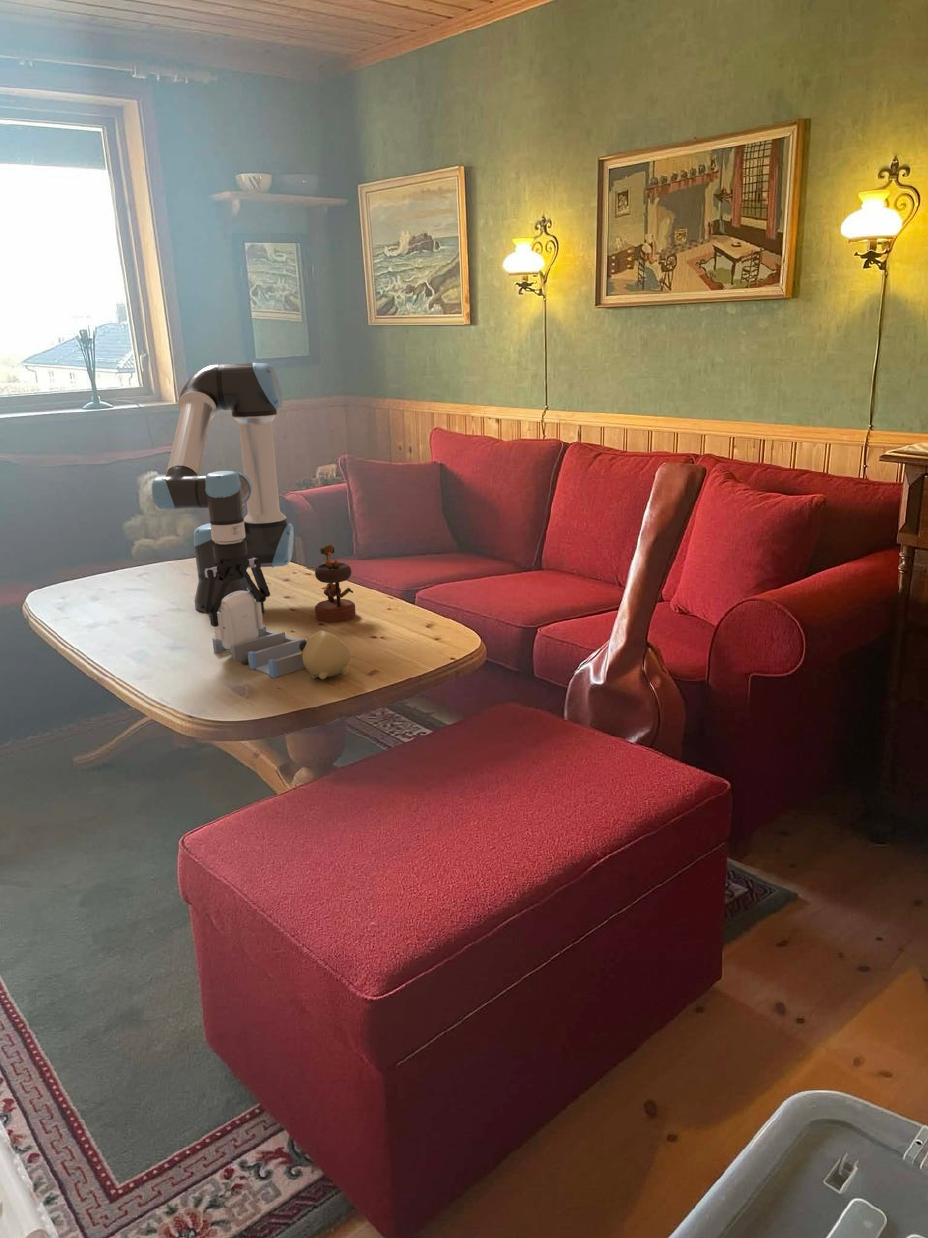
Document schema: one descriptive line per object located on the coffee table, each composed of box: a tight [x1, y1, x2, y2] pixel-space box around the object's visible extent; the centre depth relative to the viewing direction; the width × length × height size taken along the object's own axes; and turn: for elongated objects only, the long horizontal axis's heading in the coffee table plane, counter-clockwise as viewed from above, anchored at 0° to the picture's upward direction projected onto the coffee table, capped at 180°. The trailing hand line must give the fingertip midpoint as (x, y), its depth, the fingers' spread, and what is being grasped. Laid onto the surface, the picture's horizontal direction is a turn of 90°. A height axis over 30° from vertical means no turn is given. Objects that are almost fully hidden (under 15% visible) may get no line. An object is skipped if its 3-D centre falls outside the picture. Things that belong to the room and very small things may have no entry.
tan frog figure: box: [299, 630, 351, 680], centre depth 200 cm, size 10×12×11 cm
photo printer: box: [218, 590, 258, 649], centre depth 218 cm, size 10×4×12 cm, turn 155°
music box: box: [314, 543, 357, 624], centre depth 242 cm, size 15×11×20 cm
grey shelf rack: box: [212, 624, 307, 679], centre depth 216 cm, size 26×16×4 cm, turn 45°
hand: (239, 633), depth 219 cm, fingers closed on photo printer, 10 cm apart
